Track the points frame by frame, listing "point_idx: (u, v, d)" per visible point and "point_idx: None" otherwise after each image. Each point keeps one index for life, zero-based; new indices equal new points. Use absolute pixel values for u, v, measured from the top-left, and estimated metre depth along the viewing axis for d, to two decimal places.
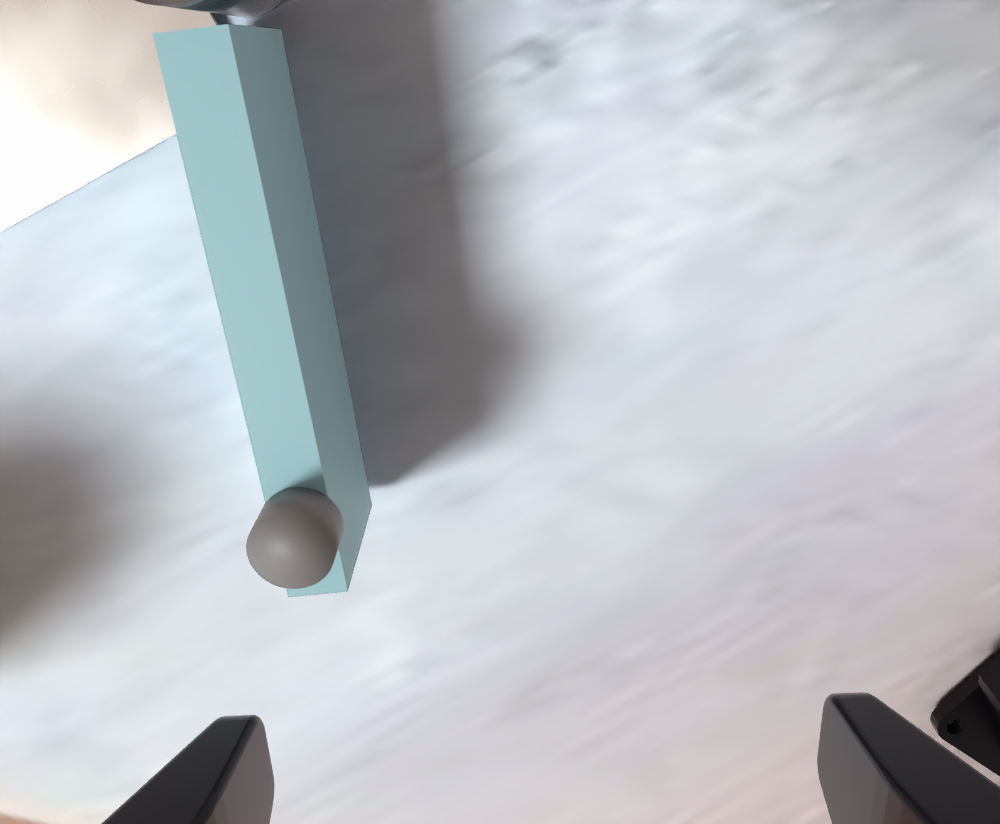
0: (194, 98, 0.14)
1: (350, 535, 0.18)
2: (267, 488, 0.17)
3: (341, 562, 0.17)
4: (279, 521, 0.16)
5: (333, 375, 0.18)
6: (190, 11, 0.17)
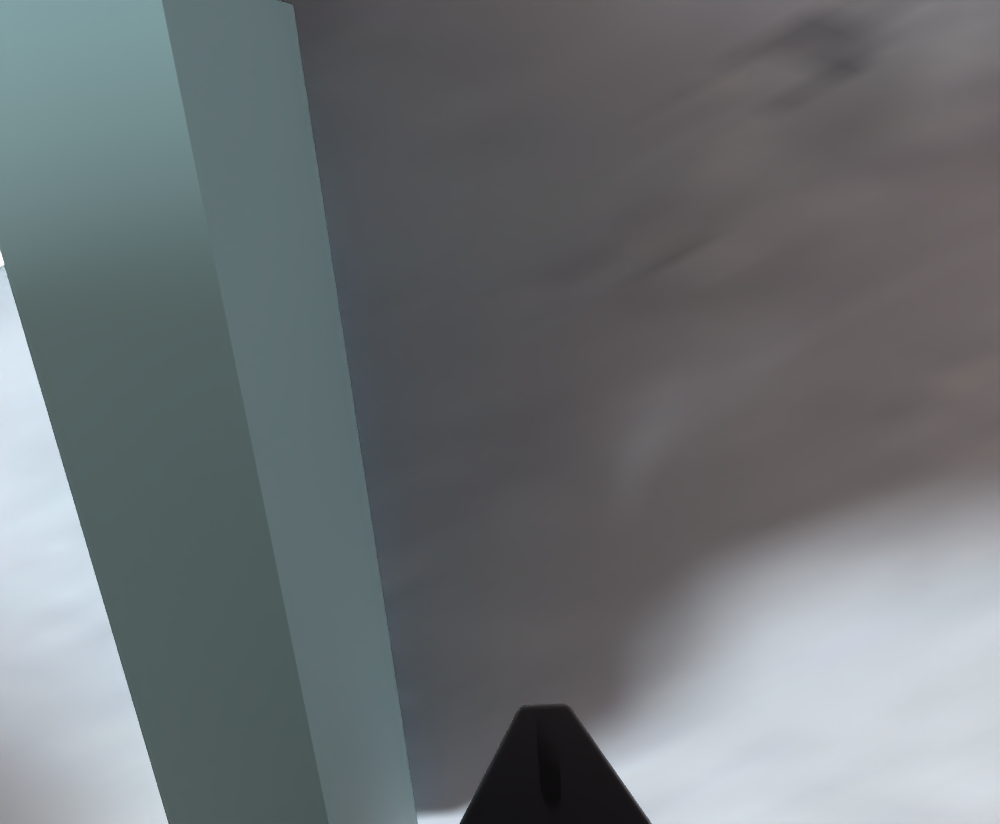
0: (57, 182, 0.05)
1: None
2: None
3: None
4: None
5: (376, 700, 0.09)
6: None
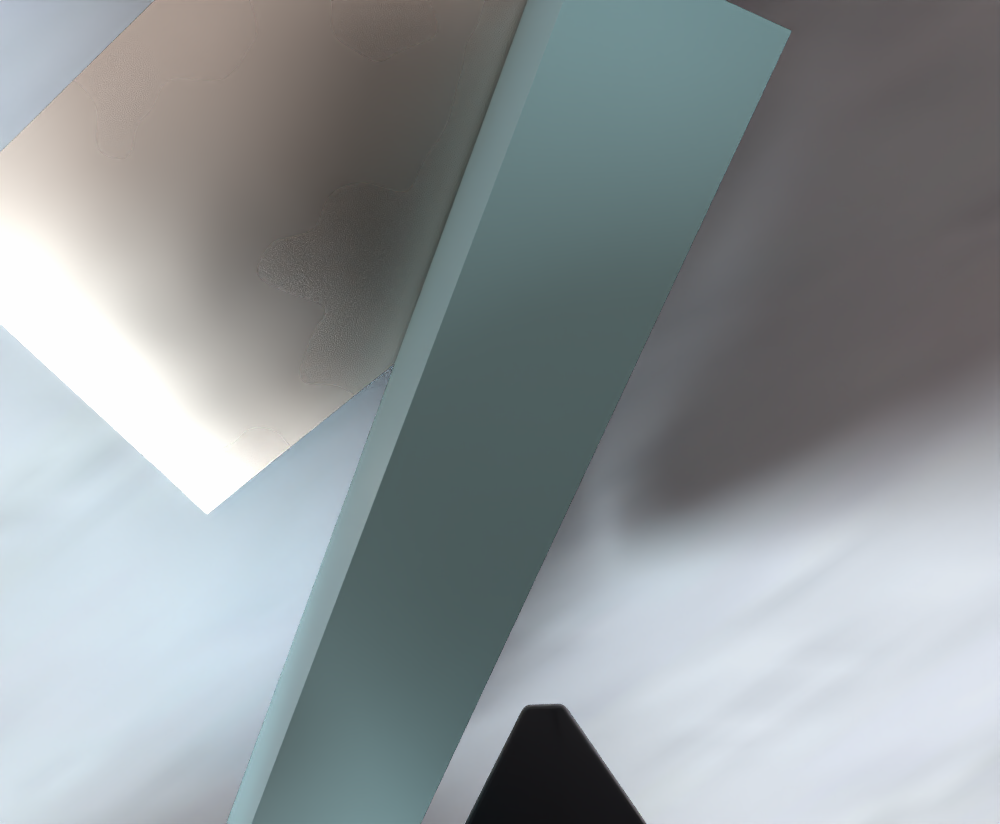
0: (584, 157, 0.05)
1: None
2: None
3: None
4: None
5: None
6: None
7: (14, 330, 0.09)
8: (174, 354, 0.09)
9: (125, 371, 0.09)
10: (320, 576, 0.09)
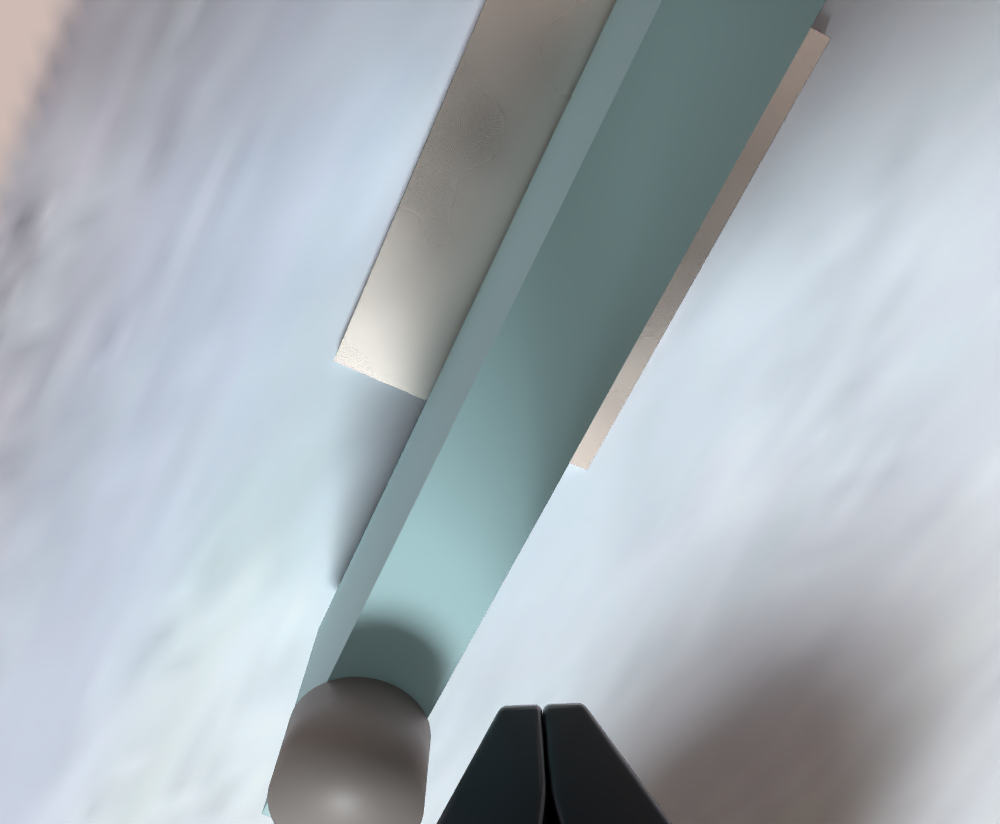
0: (692, 53, 0.07)
1: None
2: (346, 665, 0.10)
3: None
4: (361, 757, 0.09)
5: None
6: None
7: (415, 393, 0.13)
8: None
9: None
10: (428, 409, 0.12)
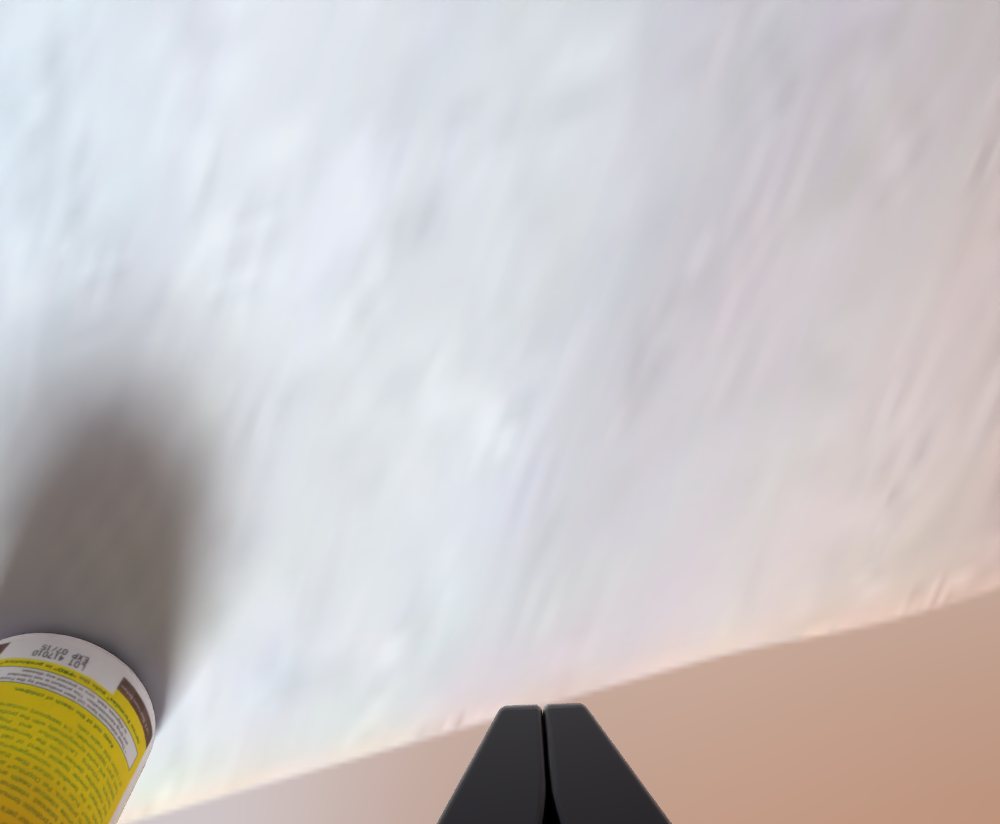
0: None
1: None
2: None
3: None
4: None
5: None
6: None
7: None
8: None
9: None
10: None
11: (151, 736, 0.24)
